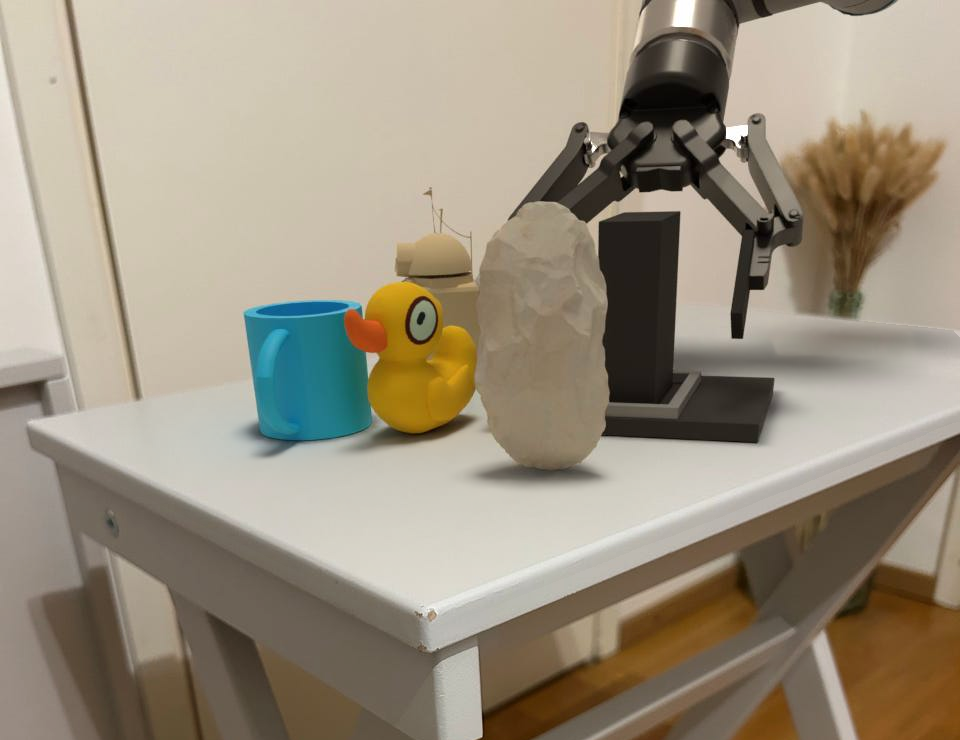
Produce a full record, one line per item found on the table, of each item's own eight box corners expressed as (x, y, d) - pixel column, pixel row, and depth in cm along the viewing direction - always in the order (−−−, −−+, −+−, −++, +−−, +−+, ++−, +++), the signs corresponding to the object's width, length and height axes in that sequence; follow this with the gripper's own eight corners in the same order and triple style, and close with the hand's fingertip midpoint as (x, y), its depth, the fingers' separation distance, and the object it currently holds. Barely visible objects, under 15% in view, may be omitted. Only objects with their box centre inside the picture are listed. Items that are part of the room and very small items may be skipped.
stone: (611, 456, 62) (617, 195, 56) (606, 482, 58) (611, 201, 51) (488, 454, 64) (478, 200, 57) (473, 480, 59) (461, 206, 52)
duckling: (388, 456, 64) (374, 294, 60) (332, 444, 68) (315, 289, 63) (499, 418, 72) (494, 272, 68) (444, 409, 75) (436, 269, 71)
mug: (286, 410, 77) (272, 300, 73) (386, 412, 75) (377, 299, 71) (214, 454, 67) (194, 328, 63) (328, 457, 65) (314, 328, 61)
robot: (387, 370, 89) (372, 187, 83) (476, 364, 90) (469, 182, 83) (389, 395, 80) (373, 192, 73) (489, 389, 81) (482, 187, 74)
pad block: (672, 386, 74) (680, 211, 69) (653, 411, 67) (661, 220, 62) (619, 384, 75) (623, 212, 70) (596, 409, 68) (598, 221, 63)
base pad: (773, 393, 76) (775, 366, 75) (757, 442, 64) (760, 411, 63) (545, 385, 81) (545, 360, 80) (492, 429, 69) (491, 401, 68)
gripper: (854, 111, 72) (824, 361, 66) (525, 127, 80) (473, 354, 74) (863, 19, 66) (832, 289, 60) (503, 47, 73) (443, 289, 67)
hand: (633, 325), depth 67 cm, fingers open, 13 cm apart
